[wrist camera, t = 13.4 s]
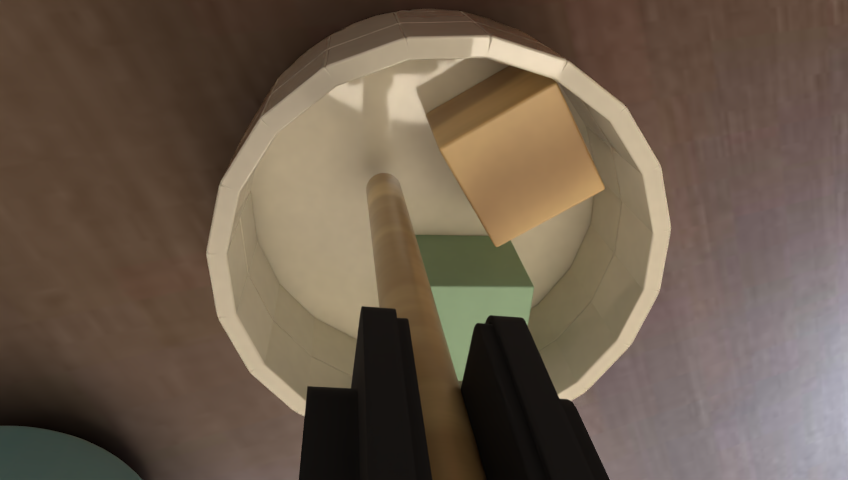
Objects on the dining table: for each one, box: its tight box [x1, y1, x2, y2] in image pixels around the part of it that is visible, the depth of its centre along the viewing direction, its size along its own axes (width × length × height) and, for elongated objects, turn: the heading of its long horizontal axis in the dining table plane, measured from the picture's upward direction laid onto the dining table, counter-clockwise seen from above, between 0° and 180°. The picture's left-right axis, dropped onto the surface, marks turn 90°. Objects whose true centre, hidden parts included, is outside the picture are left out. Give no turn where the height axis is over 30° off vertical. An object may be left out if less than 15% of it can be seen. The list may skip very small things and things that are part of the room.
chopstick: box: [366, 173, 487, 480], centre depth 14 cm, size 1×1×18 cm
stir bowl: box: [206, 9, 671, 416], centre depth 22 cm, size 14×14×6 cm
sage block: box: [415, 235, 534, 381], centre depth 24 cm, size 4×4×4 cm
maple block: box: [426, 65, 605, 247], centre depth 22 cm, size 4×4×4 cm
